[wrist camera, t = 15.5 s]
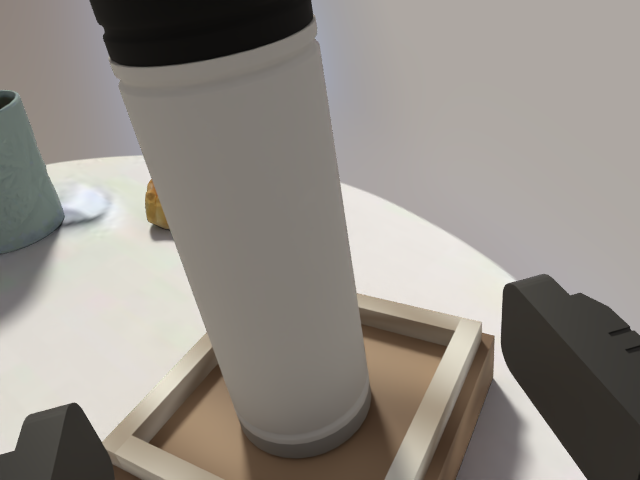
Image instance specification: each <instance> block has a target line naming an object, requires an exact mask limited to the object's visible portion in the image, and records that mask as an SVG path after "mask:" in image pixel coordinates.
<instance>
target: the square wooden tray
mask: <svg viewBox="0 0 640 480" xmlns="http://www.w3.org/2000/svg"><path fill="white" fill-rule="evenodd" d="M357 300H358V307H359V314H360V320H361V327H362V334H363V341H364V347H365V354H366V361H367V368H368V374H369V381H370V388H371V404H370V408H369V411H368V414H367V416H366V419H365V420H364V422H363V423H362V425H361V426H360V428H359V429H358V430H357V431H356V432H355V433H354V434H353V435H352V436H351V437H350V438H349V439H348V440H347V441H345V442H344V443H343V444H341V445H340V446H338V447H337V448H335V449H333V450H330V451H328V452H326V453H324V454H320V455H317V456H313V457H307V458H298V459H296V458H283V457H279V456H276V455H272V454H269V453H267V452H265V451H263V450H261V449H259V448H258V447H256V446H255V445H254V444H253V443H252V442H250V441H249V439H248V438H247V436H246V435H245V434H244V432H243V430H242V427H241V425H240V422H239V419H238V417H237V414H236V411H235V408H234V405H233V402H232V400H231V397H230V394H229V392H228V389H227V386H226V383H225V381H224V378H223V375H222V372H221V369H220V367H219V364H218V361H217V358H216V356H215V353H214V350H213V347H212V345H211V342H210V339H209V336H208V333H206V334H205V335H204V336H203V337H202V338H201V339H200V340H199V341H198V342H197V343H196V344H195V345H194V346H193V347H192V348H191V349H190V350H189V351H188V353H187V354H186V355H185V356H184V357H183V358H182V359H181V360H180V361H179V362H178V363H177V364H176V365H175V366H174V367H173V368H172V369H171V370H170V371H169V372H168V374H167V375H166V376H165V377H164V378H163V379H162V380H161V381H160V382H159V383H158V384H157V385H156V386H155V387H154V388H153V389H152V390H151V391H150V392H149V393H148V394H147V396H146V397H145V398H144V399H143V400H142V401H141V402H140V403H139V404H138V405H137V406H136V407H135V408H134V409H133V410H132V411H131V412H130V413H129V414H128V415H127V417H126V418H125V419H124V420H123V421H122V422H121V423H120V424H119V425H118V426H117V427H116V428H115V429H114V430H113V431H112V432H111V433H110V434H109V435H108V436H107V437H106V439H105V440H104V441H103V442H102V444H103V445H104V447H105V449H106V450H107V452H108V454H109V456H110V458H111V461H112V465H113V469H114V476H115V480H455V479H456V477H457V474H458V471H459V468H460V466H461V463H462V460H463V458H464V455H465V452H466V449H467V447H468V444H469V441H470V439H471V436H472V433H473V430H474V428H475V425H476V422H477V420H478V417H479V414H480V411H481V409H482V406H483V403H484V401H485V398H486V395H487V393H488V390H489V387H490V384H491V382H492V379H493V367H494V336H493V335H489V334H485V333H482V322H479V321H475V320H470V319H466V318H462V317H457V316H453V315H449V314H444V313H440V312H436V311H431V310H427V309H423V308H418V307H414V306H410V305H405V304H401V303H397V302H392V301H388V300H384V299H379V298H375V297H371V296H366V295H362V294H358V293H357Z"/></svg>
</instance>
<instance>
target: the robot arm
mask: <svg viewBox="0 0 640 480" xmlns="http://www.w3.org/2000/svg"><path fill="white" fill-rule="evenodd" d="M501 348H502V353H503V356H504V359H505V362H506V364H507V366H508V368H509V370H510V372H511V373H512V375H513V376H514V378H515V379H516V381H517V382H518V383H519V385H520V386H521V388H522V389H523V390H524V392H525V393H526V395H527V396H528V397H529V399H530V400H531V402H532V403H533V404H534V406H535V407H536V409H537V410H538V411H539V413H540V414H541V415H542V417H543V418H544V420H545V421H546V422H547V424H548V425H549V427H550V428H551V429H552V431H553V432H554V434H555V435H556V436H557V438H558V439H559V441H560V442H561V443H562V445H563V446H564V448H565V449H566V450H567V452H568V453H569V455H570V456H571V457H572V459H573V460H574V462H575V463H576V464H577V466H578V467H579V469H580V470H581V471H582V473H583V474H584V476H585V477H586V478H587V480H640V335H639V334H638V333H636V332H635V331H631V329H630V326H629V325H628V324H627V323H626V322H624V320H622V319H621V318H620V317H619V316H618V315H617V314H616V313H615V312H614V311H612V309H611V308H609V307H608V306H606V305H604V304H602V303H600V302H598V301H596V300H594V299H592V298H590V297H588V296H586V295H584V294H582V293H577V294H574V295H569V294H568V293H567V292H566V291H565V290H564V289H563V288H562V287H561V286H560V285H559V284H558V283H557V282H556V281H555V280H554V279H553V278H552V277H550V276H549V275H546V274H542V275H538V276H534V277H530V278H527V279H523V280H519V281H516V282H512V283H508V284H506V285H505V287H504V289H503V301H502V325H501ZM0 480H115V476H114V469H113V465H112V461H111V458H110V456H109V454H108V452H107V450H106V449H105V447H104V445H103V444H102V442H101V440H100V438H99V437H98V435H97V433H96V432H95V430H94V428H93V427H92V425H91V423H90V422H89V420H88V418H87V417H86V415H85V413H84V412H83V410H82V408H81V407H80V406H79V405H78V404H77V403H70V404H67V405H63V406H59V407H56V408H52V409H48V410H45V411H41V412H37V413H33V414H30V415H28V416H27V417H26V419H25V420H24V423H23V425H22V429H21V432H20V435H19V438H18V442H17V445H16V448H15V451H12V452H9V453H5V454H1V455H0Z"/></svg>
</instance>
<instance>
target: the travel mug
mask: <svg viewBox="0 0 640 480" xmlns="http://www.w3.org/2000/svg"><path fill="white" fill-rule="evenodd" d="M90 3H91V6H92V9H93V11H94V14H95V17H96V20H97V22H98V23H99V25H102V26H103V27H104V30H105V33H104V35H103V39H104V42H105V45H106V48H107V50H108V53H109V62H110V65H111V67H112V70H113V72H114V75H115V76H116V77H117V78H118V79H120V82H119V90H120V92H121V95H122V98H123V101H124V103H125V106H126V109H127V112H128V115H129V117H130V120H131V123H132V125H133V128H134V131H135V134H136V136H137V139H138V142H139V145H140V148H141V151H142V153H143V156H144V159H145V162H146V164H147V167H148V170H149V173H150V175H151V178H152V181H153V184H154V187H155V189H156V192H157V195H158V198H159V200H160V203H161V206H162V209H163V212H164V214H165V217H166V220H167V223H168V225H169V228H170V231H171V234H172V236H173V239H174V242H175V245H176V248H177V250H178V253H179V256H180V259H181V261H182V264H183V267H184V270H185V272H186V275H187V278H188V281H189V284H190V286H191V289H192V292H193V295H194V297H195V300H196V303H197V306H198V308H199V311H200V314H201V317H202V320H203V322H204V325H205V328H206V331H207V333H208V336H209V339H210V342H211V345H212V347H213V350H214V353H215V356H216V358H217V361H218V364H219V367H220V369H221V372H222V375H223V378H224V381H225V383H226V386H227V389H228V392H229V394H230V397H231V400H232V402H233V405H234V408H235V411H236V414H237V417H238V419H239V422H240V425H241V427H242V430H243V432H244V434H245V435H246V436H247V438H248V439H249V441H250V442H252V443H253V444H254V445H255V446H256V447H258V448H259V449H261V450H263V451H265V452H267V453H269V454H272V455H276V456H279V457H283V458H296V459H298V458H307V457H313V456H317V455H320V454H324V453H326V452H328V451H330V450H333V449H335V448H337V447H338V446H340V445H341V444H343V443H344V442H345V441H347V440H348V439H349V438H350V437H351V436H352V435H353V434H354V433H355V432H356V431H357V430H358V429H359V428H360V426H361V425H362V423H363V422H364V420H365V419H366V416H367V414H368V411H369V408H370V404H371V388H370V381H369V374H368V368H367V361H366V354H365V347H364V341H363V334H362V327H361V320H360V314H359V307H358V300H357V293H356V287H355V280H354V273H353V267H352V260H351V253H350V246H349V240H348V233H347V226H346V220H345V213H344V206H343V199H342V193H341V186H340V179H339V173H338V166H337V159H336V153H335V146H334V139H333V132H332V125H331V119H330V112H329V105H328V99H327V92H326V85H325V79H324V72H323V65H322V58H321V52H320V45H319V43H318V41H316V39H315V37H316V35H317V25H316V18H315V15H314V14H313V11H312V4H311V0H90Z"/></svg>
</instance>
